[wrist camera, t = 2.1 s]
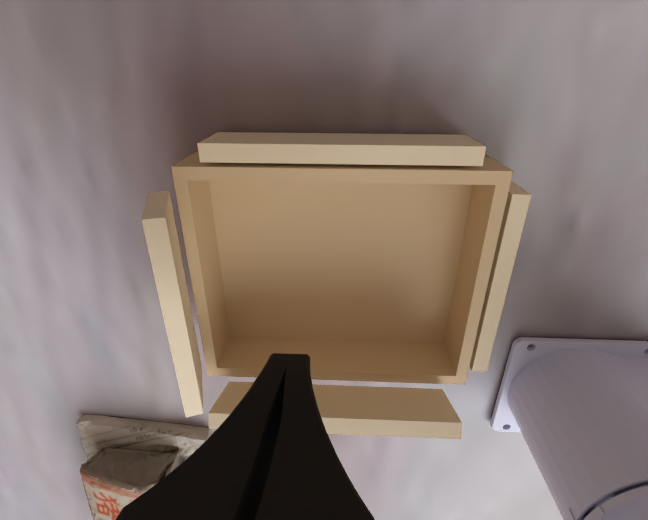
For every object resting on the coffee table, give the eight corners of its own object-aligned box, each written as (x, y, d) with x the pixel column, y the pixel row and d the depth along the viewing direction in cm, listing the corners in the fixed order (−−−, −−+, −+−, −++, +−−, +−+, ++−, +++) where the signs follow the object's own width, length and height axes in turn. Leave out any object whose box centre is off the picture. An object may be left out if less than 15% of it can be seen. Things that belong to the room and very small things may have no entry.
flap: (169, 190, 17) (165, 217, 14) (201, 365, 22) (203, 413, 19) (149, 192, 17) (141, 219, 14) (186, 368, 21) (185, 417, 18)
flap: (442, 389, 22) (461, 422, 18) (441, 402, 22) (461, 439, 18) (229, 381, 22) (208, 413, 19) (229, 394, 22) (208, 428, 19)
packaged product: (205, 612, 33) (91, 599, 33) (221, 549, 38) (120, 538, 38) (192, 482, 25) (40, 466, 25) (214, 421, 29) (84, 407, 30)
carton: (511, 133, 19) (543, 147, 16) (466, 345, 25) (483, 385, 22) (194, 130, 19) (166, 142, 16) (224, 338, 25) (207, 375, 22)
